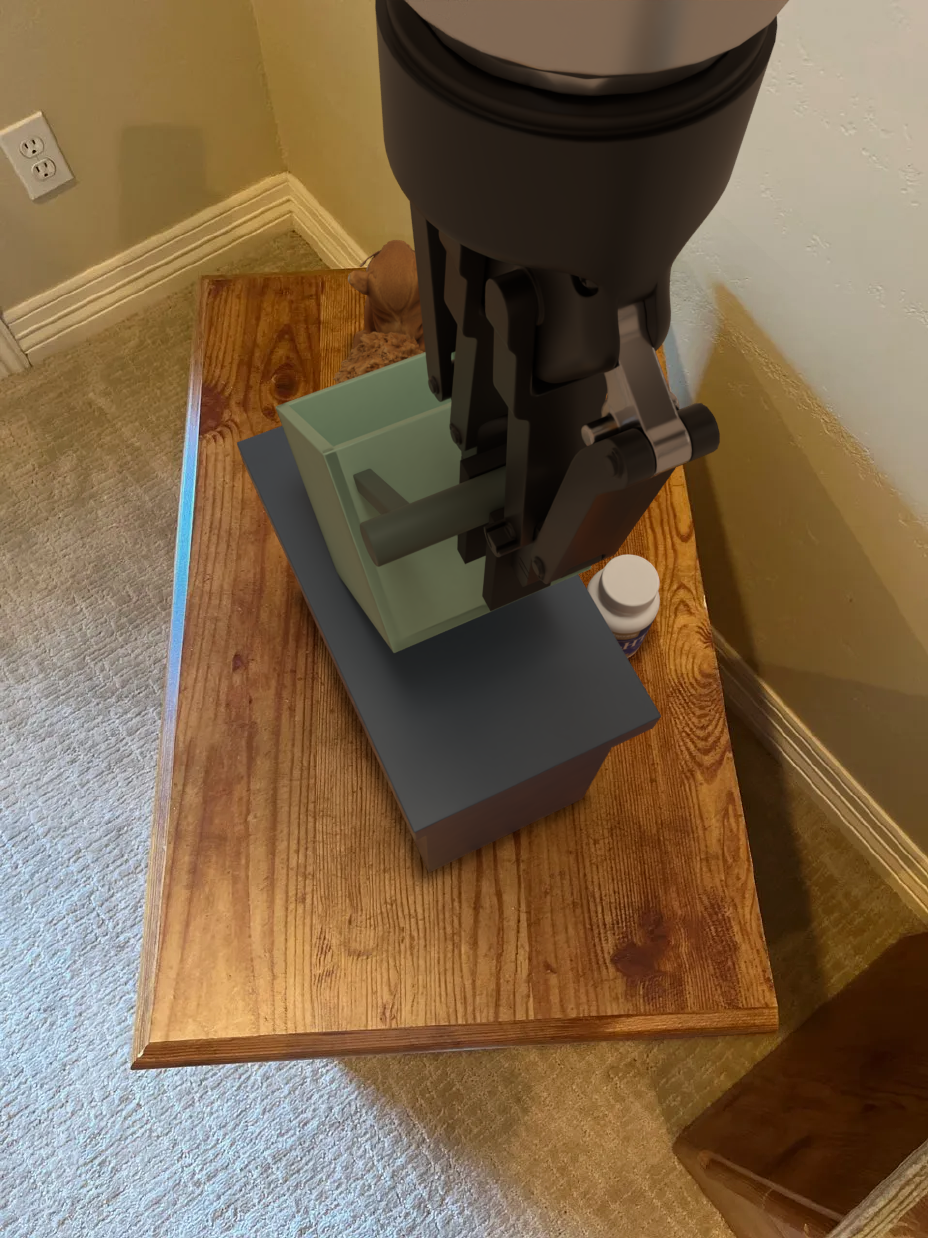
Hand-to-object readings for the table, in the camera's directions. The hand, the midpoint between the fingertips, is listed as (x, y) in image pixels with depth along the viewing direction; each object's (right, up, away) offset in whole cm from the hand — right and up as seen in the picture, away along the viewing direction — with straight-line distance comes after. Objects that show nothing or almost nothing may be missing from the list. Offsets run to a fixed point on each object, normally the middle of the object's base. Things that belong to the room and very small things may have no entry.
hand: (503, 567), depth 39 cm
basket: (-1, -1, +6) cm, 6 cm away
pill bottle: (+10, -3, +34) cm, 36 cm away
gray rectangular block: (-4, -8, +32) cm, 33 cm away
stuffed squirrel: (-7, +17, +43) cm, 47 cm away
